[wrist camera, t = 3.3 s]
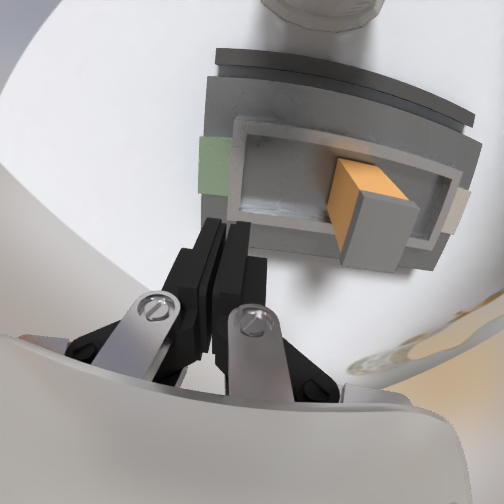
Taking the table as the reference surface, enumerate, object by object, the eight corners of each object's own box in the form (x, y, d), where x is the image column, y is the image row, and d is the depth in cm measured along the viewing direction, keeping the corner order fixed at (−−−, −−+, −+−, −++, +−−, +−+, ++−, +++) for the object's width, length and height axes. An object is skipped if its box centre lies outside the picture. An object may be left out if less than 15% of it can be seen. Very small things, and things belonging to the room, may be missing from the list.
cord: (219, 49, 16) (216, 48, 15) (467, 111, 16) (475, 114, 15) (218, 64, 16) (214, 64, 15) (464, 124, 16) (472, 127, 15)
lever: (336, 156, 17) (364, 196, 11) (379, 165, 16) (420, 209, 11) (324, 208, 19) (341, 266, 13) (364, 215, 19) (393, 273, 13)
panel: (214, 76, 17) (200, 76, 14) (464, 134, 17) (491, 148, 13) (206, 221, 24) (195, 247, 21) (422, 252, 24) (438, 278, 20)
